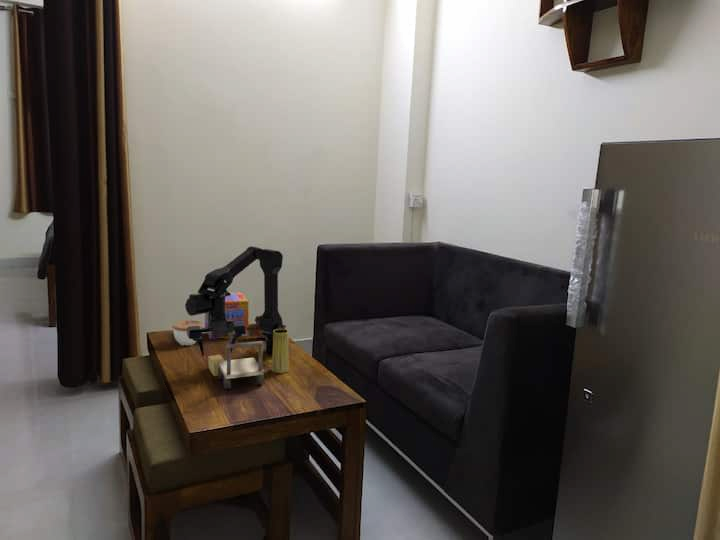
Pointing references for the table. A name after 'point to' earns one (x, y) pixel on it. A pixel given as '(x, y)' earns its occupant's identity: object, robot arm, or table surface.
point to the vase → (280, 351)
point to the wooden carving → (256, 329)
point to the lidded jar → (184, 331)
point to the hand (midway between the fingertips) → (216, 354)
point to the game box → (234, 311)
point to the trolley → (241, 365)
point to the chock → (214, 363)
